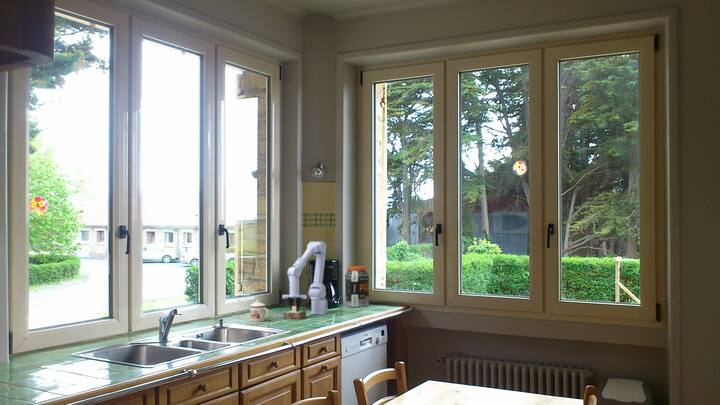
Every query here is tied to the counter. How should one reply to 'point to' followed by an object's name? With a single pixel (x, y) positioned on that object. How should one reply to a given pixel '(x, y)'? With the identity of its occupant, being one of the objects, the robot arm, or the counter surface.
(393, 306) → the counter surface
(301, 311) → the lid
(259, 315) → the teacup with lid
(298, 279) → the robot arm
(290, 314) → the walnut box
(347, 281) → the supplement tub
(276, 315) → the rubber mat
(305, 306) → the counter surface
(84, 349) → the counter surface
